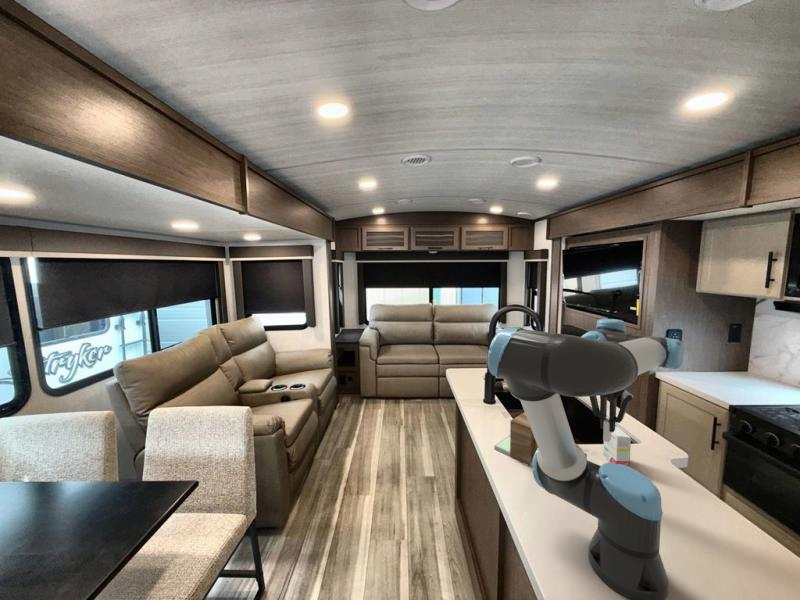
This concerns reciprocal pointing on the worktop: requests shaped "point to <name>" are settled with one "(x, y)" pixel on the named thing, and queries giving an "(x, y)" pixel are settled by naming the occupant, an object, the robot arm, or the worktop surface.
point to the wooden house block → (521, 439)
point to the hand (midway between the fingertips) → (607, 439)
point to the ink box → (618, 448)
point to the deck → (505, 447)
